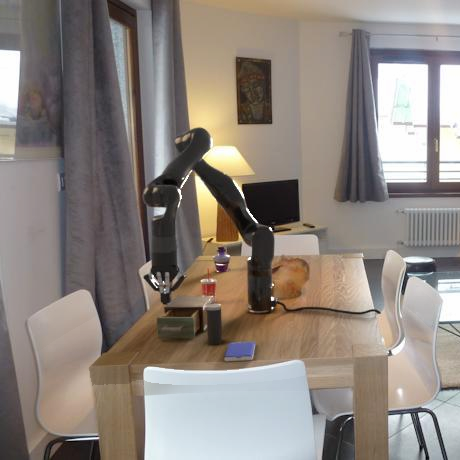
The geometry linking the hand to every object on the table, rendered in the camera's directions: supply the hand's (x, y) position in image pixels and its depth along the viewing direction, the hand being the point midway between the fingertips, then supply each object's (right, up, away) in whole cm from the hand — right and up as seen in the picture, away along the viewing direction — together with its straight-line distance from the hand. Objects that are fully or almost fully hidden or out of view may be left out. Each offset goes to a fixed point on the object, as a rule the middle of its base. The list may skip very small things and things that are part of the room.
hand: (166, 303), depth 195 cm
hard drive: (+23, -16, 0) cm, 28 cm away
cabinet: (-2, -11, +26) cm, 28 cm away
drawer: (-1, -12, +14) cm, 18 cm away
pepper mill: (+12, -14, +9) cm, 21 cm away
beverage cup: (-5, -6, +55) cm, 55 cm away
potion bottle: (-17, +3, +108) cm, 109 cm away
